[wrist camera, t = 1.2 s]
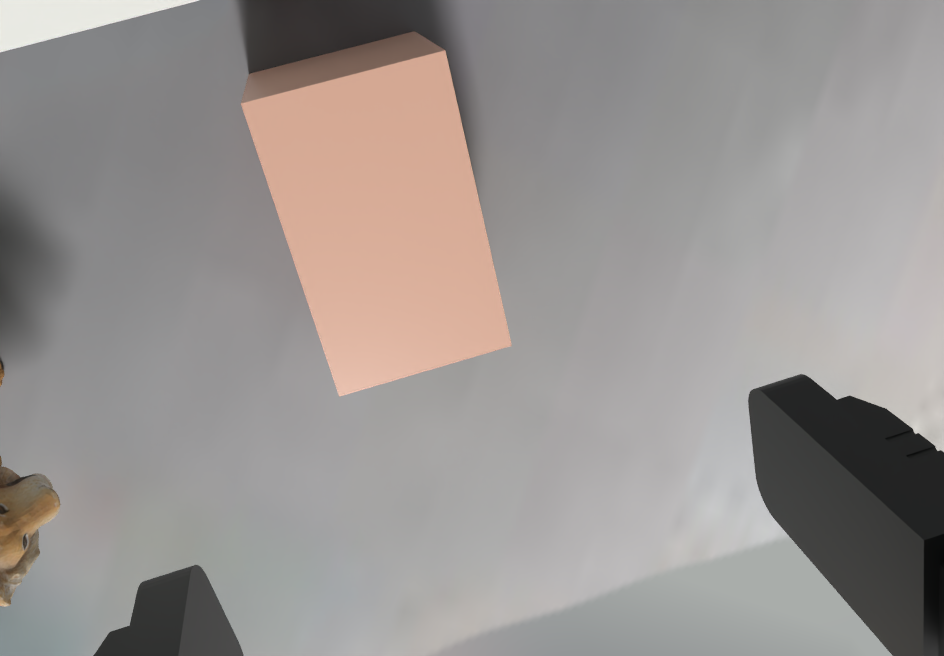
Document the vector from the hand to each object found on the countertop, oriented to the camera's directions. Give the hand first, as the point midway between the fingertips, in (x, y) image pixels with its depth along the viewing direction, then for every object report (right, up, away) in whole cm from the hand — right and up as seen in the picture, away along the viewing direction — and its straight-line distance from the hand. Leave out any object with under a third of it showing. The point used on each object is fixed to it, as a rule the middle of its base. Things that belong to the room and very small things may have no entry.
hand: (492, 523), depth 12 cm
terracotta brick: (-4, +8, +18) cm, 20 cm away
